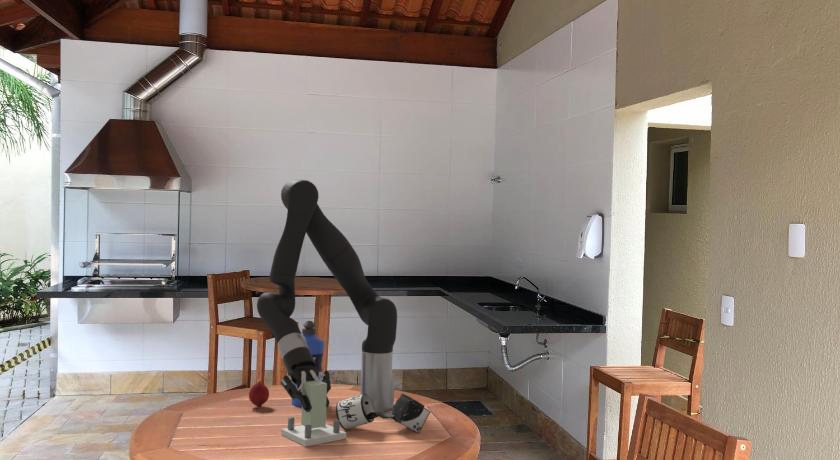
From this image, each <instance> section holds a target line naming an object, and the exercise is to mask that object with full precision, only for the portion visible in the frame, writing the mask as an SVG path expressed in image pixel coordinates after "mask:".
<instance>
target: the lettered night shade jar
mask: <svg viewBox="0 0 840 460" xmlns="http://www.w3.org/2000/svg"><path fill="white" fill-rule="evenodd" d="M360 394H361V393H360ZM360 394H359V395H356V396H355V395H354V396H352V397H350V398H347V399H346V398H345V399H342V400H340V401H338V402H337V403H336V405H335V414H336V418H337V419H336V420H340V427H341V428H342V429H343V430H344V431H348V430H351V429H354V428H357V427H361V426H363V425H367V424H370V423H372V422H374V421H375V419H376V418H378V417H379V418H381V419H392V420H394V422H395V423H398V424H401V425H403V426H404V427H406V428H408V429H410V430H411V431H413V432H414V433H416V434H420V431H421V430H422V428H423V426H424V425H425V424H426V421H427V419H428V417H429V415H430V414H431V410H429V409H427V408H426V407H425V405H424V404H423V403H421V402H419V401H418V400H416V399H414V398H413V397H410V396H409V395H407V394H404V393H401V394H400V397H399V398H397V400H396V401H395V402H394V406H393V408H392V409H390V410H389V411H385V412H374V408H373V405H372V402H371V400H370V398H369V396H368V395H367V394H361V395H360Z"/></svg>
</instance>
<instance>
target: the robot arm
mask: <svg viewBox="0 0 840 460" xmlns="http://www.w3.org/2000/svg"><path fill="white" fill-rule="evenodd" d="M280 198H281V202H282V204H283V206H284V207H285V208H286V209H287V213H286V214H287V215H286V220H285V225H284V228H283V232H282V235H281V237H280V239H279V240H278V243H277V246H276V249H275V252H274V255H273V259H272V264H271V268H270V272H269V281H270V282H271V283H272V284H274V285H276V286H278V290H279V291H278V293H277V292H269V291H268V292H264V293H262V294H260V295H259V297H258V299H257V301H256V309H257V313H258V315H259V317H260V318H261V320H262V322H263V323H264V324H265V325H266V327H267V328H268V329H269V331H271V333H272V335H273V336H274V340H275V341H276V345H277V348H278V352H279V355H280V358H281V360H282V362H283V363H282V364H284V367H285V371H286V373H287V374H288V375H284V376H283V377H282V379H281V381H280V384H281V386H282V387H283V388H284V390H285V391H286V393H287V394H288V395H289V396H290V398H291V400H292V399H295V398H296V399H299V400H300V402H301V404H302V407H303V409H304V410H306V412H310V410H311V409H312V406H311V404H310V401H309V399H308V396H307V395H306V391H305V388H304V383H303V382H308V381H317V380H319V378H318V377H320V380H319V381H322V382H324V383H327V394H328V393H329V392H330V390H331V389H332V386H331V379H330V378H331V377H330V372H329V371H328V370H325V371H324V372H323V371H322V372H319V371H318V369H316V367H315V363H314V360H313V357H312V355H311V352H310V350H309V348H308V345H307V343H306V341H305V339H304V338H303V336H302V335H303V334H302V330H301V329H300V327H299V325H298V323H297V321H296V320H295V319H294V318H292V317H291V316H292V315H293V313H294V311H295V307H296V288H295V287H296V285H295V279H296V275H297V273H298V272H297V270H298V265H299V261H300V257H301V253H302V249H303V244H304V240H305V237H306V235H307V236H308V238H309V240H310V242H311V244H312V245H313V247H314V248H315V250H316V252H317V253H318V255H319V256H320V258H321V259H322V261H323V262H324V263H323V264H324V265H326V267H327V268H328V271H330V273H331V274H332V276H333V277H334V278H335V280H336V281H337V282H338V284H339V285H340V286H341V287H342V289H343V290H344V291H345V293H346V294H347V296H348V298H349V299H350V301H351V303H352V304H353V307H354V308H355V311H356V313H357V315H358V316H359V318H360V320H361V321H362V322H363V323H364V324H365V325H367V335H366V338H365V339H364V340H363V341H362V344H361V367H360V369H361V371H360V394H359V395H361V394H367V395H368V396H369V398H370V400H371V402H372V405H373V408H374V413H377V412H381V413H385V412H389V411H391V410H392V409H393V406H394V404H395V376H394V375H393V355H394V354H393V352H394V344H395V343H396V338H397V327H398V325H397V324H398V310H397V306H396V305H395V303H394V302H393V301H392V300H390V299H389V298H385V297H381V296H379V294H378V293H377V292H376V291H375V290H374V288H373V287H372V285H371V283H369V282H368V280H367V278H366V276H365V273H364V269H363V265H362V263H361V260H360V258H359V256H358V254H357V252H356V250H355V249H354V247H353V246H352V245H351V243H350V241H349V240H348V239H347V237H346V236H345V235H344V234H343V233H342V232H341V231H340V230H339V229H338V228H337V227H336V225H335V224H333V223H332V221H331V220H329V219H328V218H327V216H326V215H325V214H324V212H323V211H322V209H321V207H320V206H319V204H318V201H319V190H318V188H317V186H316V185H315V184H314V183H313V182H311V181H310V180H307V179H293V180H290V181H287V182H286V183H284V185H282V189H281V191H280ZM292 382H293V383H295V384H296V387H295V386H294V384H293V383H292ZM302 407H301V408H302ZM329 407H330V400H329V398H328V396H327V400H326V410H327V409H328V408H329Z"/></svg>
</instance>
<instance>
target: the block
mask: <svg viewBox="0 0 840 460" xmlns="http://www.w3.org/2000/svg"><path fill="white" fill-rule="evenodd" d="M303 383H304V388H305V391H306V395H307V396H308V399H309V401H310V404H311V406H312V409H311V410H310V412H306V410H304V409H303V407H301V421H300V423H301V424H300V425H303V426H305V425H312V427H311V429H313V428H318V427H324V426H326V424H327V421H326V420H327V409H326V400H327V397H328V393H327V383H324V382H321V381H319V380H317V381H308V382H303Z"/></svg>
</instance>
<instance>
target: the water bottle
mask: <svg viewBox="0 0 840 460" xmlns="http://www.w3.org/2000/svg"><path fill="white" fill-rule="evenodd" d="M302 326H303V327H302V328H301V334H302V336H303V338H304V339H305V341H306V343H307V345H308V348H309V350H310V352H311V355H312V357H313V360H314V363H315V367H316V369H318V371H319V372H323V367H322V366H323V365H322V363H323V358H324V357H323V356H324V352H325V340H323V339H322V338H320V337H317V335H316V334H317V328H315V327H317V326H316V324H315V323H314V321H312V320H306V321H305V322H304V323H303V324H302ZM318 378H319V380H320V377H318ZM321 382H322V381H321ZM292 383H293V382H292ZM293 384H294V386H295V387H296V384H295V383H293ZM291 405H292V406H293V405H294V407H296V406H297V407H298V408H302V404H301V402H300V400H299V399H296V398H295V399H292V398H291Z"/></svg>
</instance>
